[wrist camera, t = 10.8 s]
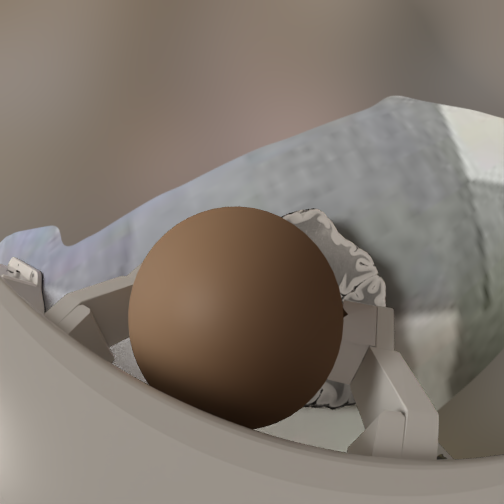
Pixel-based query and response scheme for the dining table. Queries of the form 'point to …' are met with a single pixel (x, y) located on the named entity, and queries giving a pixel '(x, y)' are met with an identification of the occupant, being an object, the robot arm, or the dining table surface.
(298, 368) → the walnut pepper mill
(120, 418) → the robot arm
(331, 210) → the dining table surface
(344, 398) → the brain slice
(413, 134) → the dining table surface
